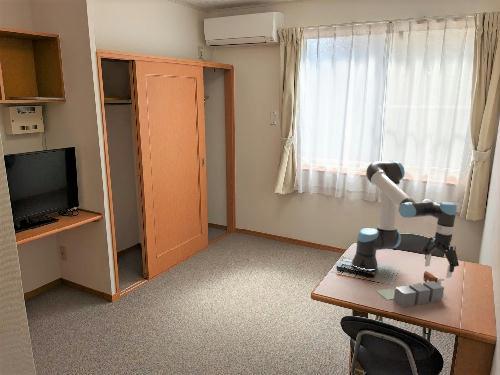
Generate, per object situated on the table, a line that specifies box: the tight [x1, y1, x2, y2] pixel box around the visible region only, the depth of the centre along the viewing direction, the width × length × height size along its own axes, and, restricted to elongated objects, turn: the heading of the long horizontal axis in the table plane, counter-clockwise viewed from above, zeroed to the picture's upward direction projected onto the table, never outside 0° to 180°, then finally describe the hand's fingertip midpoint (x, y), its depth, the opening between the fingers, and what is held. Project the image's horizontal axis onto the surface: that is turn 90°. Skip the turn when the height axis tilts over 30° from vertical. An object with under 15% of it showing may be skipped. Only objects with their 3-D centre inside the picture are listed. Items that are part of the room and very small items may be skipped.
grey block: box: [393, 285, 416, 309], centre depth 195 cm, size 7×7×8 cm
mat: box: [376, 288, 395, 301], centre depth 204 cm, size 9×9×1 cm
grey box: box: [408, 282, 430, 306], centre depth 198 cm, size 7×7×8 cm
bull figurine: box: [423, 270, 444, 286], centre depth 212 cm, size 4×13×8 cm, turn 15°
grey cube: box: [422, 281, 445, 303], centre depth 201 cm, size 7×7×8 cm
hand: (437, 271), depth 198 cm, fingers open, 13 cm apart
